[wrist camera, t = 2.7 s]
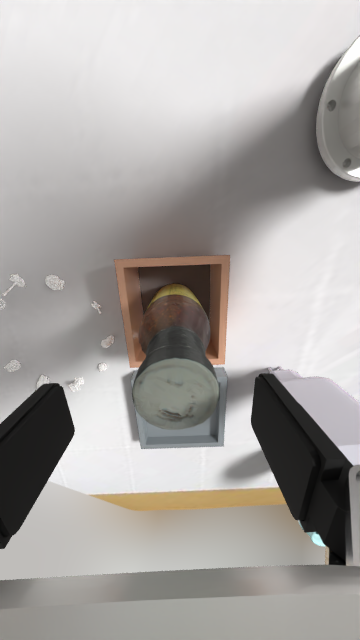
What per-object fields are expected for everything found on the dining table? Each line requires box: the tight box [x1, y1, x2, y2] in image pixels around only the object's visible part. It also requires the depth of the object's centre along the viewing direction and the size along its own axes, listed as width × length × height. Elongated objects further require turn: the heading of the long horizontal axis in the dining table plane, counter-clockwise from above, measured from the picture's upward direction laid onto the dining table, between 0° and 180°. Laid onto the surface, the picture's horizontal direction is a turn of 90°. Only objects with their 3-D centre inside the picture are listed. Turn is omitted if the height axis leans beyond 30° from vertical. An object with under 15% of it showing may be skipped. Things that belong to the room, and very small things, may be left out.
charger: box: [268, 367, 360, 466], centre depth 24 cm, size 5×9×15 cm, turn 97°
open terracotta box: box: [114, 255, 230, 368], centre depth 24 cm, size 12×13×7 cm
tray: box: [131, 368, 227, 449], centre depth 32 cm, size 15×15×2 cm
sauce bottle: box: [132, 283, 220, 430], centre depth 18 cm, size 6×6×20 cm
